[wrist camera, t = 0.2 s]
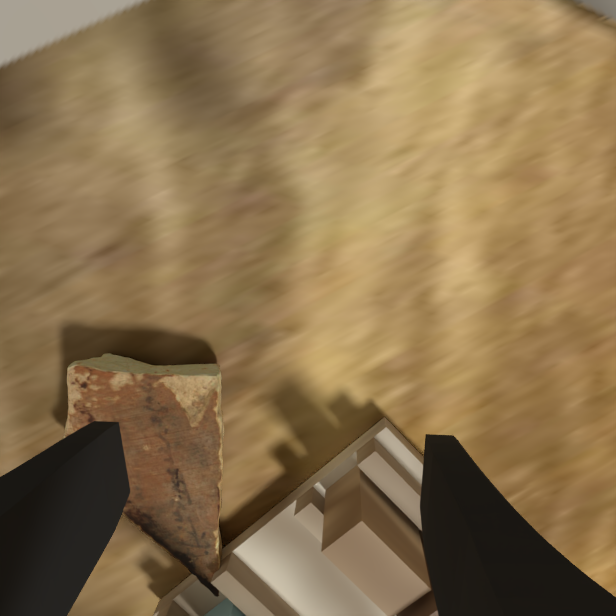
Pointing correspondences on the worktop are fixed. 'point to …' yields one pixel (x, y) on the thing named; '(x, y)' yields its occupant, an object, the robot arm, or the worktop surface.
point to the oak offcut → (374, 543)
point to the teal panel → (225, 609)
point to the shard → (162, 448)
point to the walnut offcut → (422, 600)
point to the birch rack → (304, 542)
